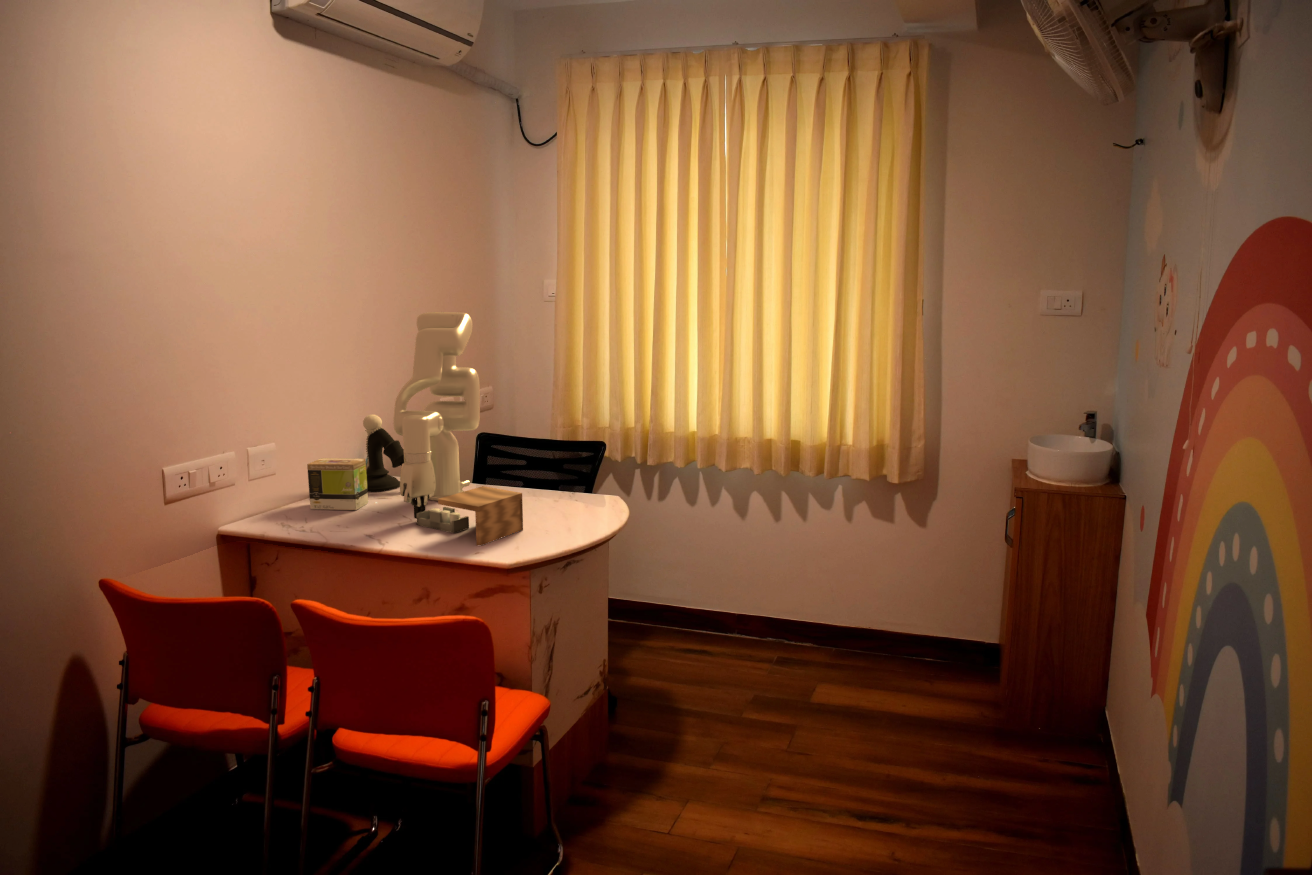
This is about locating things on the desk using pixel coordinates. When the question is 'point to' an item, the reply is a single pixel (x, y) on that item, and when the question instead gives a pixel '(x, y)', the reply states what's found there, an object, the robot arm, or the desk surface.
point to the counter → (490, 511)
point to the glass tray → (438, 523)
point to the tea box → (337, 483)
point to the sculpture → (381, 456)
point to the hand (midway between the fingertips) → (420, 518)
